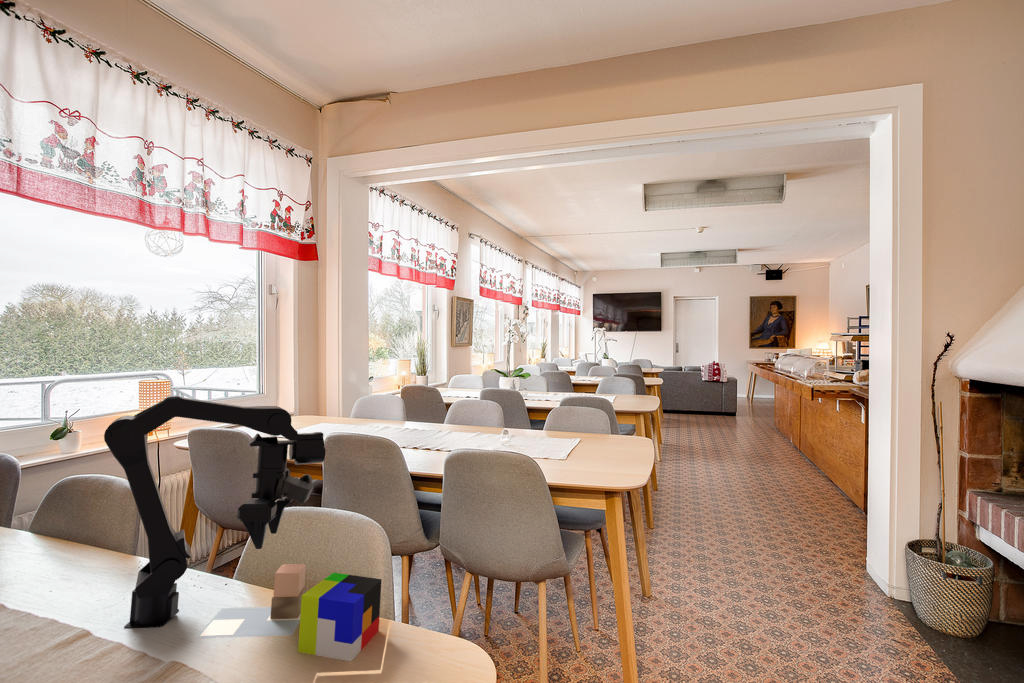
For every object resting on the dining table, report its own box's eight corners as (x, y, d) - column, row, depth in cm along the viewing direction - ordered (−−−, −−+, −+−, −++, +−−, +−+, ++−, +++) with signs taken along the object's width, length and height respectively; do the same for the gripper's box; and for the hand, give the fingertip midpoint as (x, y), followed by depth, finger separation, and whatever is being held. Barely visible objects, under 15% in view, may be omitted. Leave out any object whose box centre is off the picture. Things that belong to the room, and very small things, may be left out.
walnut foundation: (270, 619, 95) (271, 597, 96) (278, 606, 100) (279, 586, 101) (297, 618, 96) (299, 597, 96) (304, 605, 101) (305, 585, 101)
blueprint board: (195, 640, 88) (195, 638, 88) (222, 609, 99) (222, 606, 99) (292, 637, 90) (292, 634, 90) (308, 606, 102) (308, 604, 102)
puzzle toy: (350, 664, 83) (354, 603, 84) (297, 654, 85) (301, 595, 86) (378, 633, 93) (381, 579, 94) (330, 625, 95) (333, 572, 96)
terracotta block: (273, 597, 96) (275, 573, 96) (280, 586, 100) (282, 564, 101) (297, 596, 97) (299, 573, 97) (304, 586, 101) (305, 564, 101)
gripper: (299, 476, 98) (294, 557, 97) (321, 458, 116) (317, 526, 115) (239, 475, 96) (233, 558, 95) (270, 457, 114) (266, 526, 113)
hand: (266, 540), depth 105 cm, fingers open, 9 cm apart
